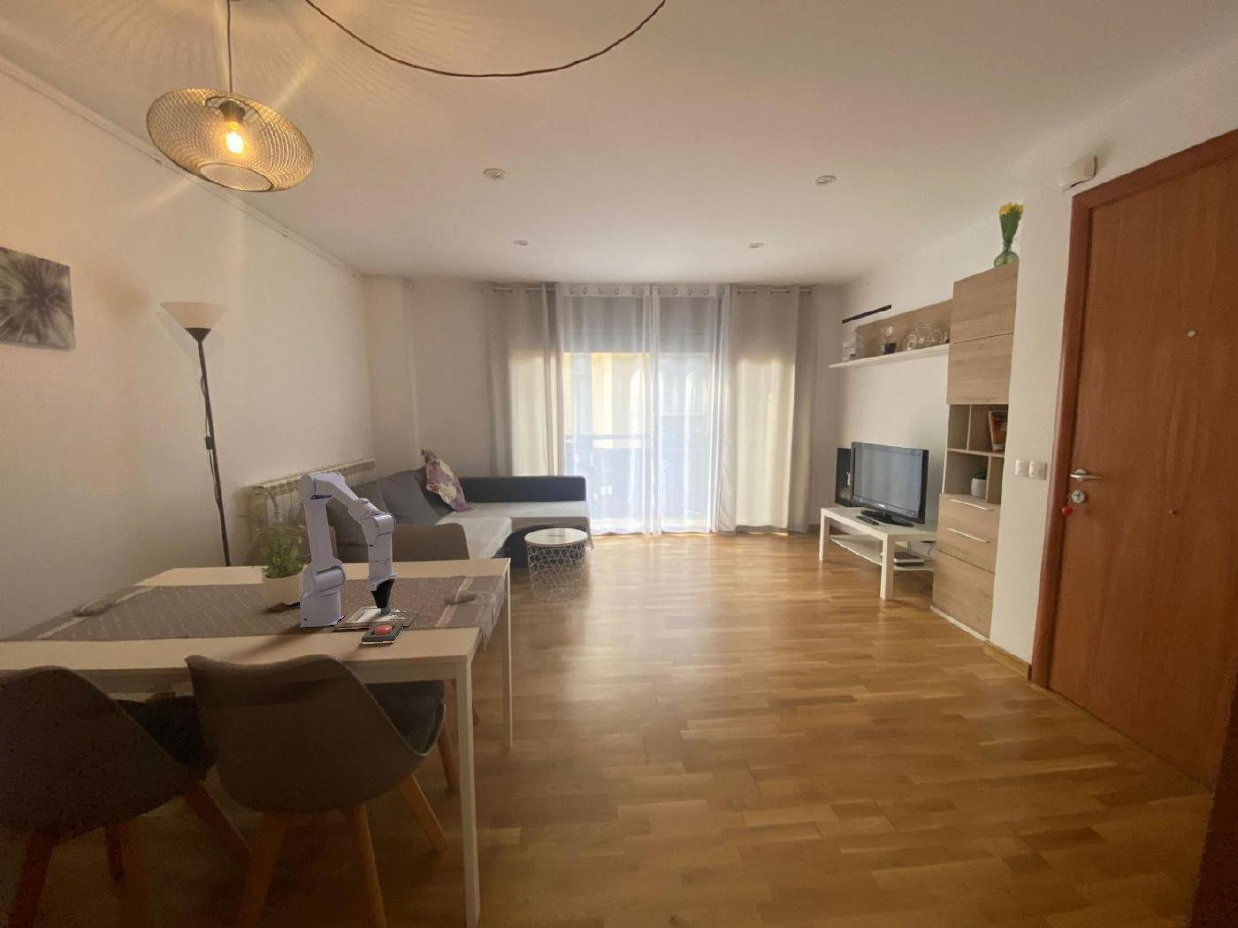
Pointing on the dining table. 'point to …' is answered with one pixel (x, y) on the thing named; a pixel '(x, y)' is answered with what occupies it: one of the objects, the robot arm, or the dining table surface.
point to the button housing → (392, 636)
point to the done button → (383, 629)
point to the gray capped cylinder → (388, 608)
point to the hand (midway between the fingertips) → (382, 607)
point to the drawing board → (366, 617)
